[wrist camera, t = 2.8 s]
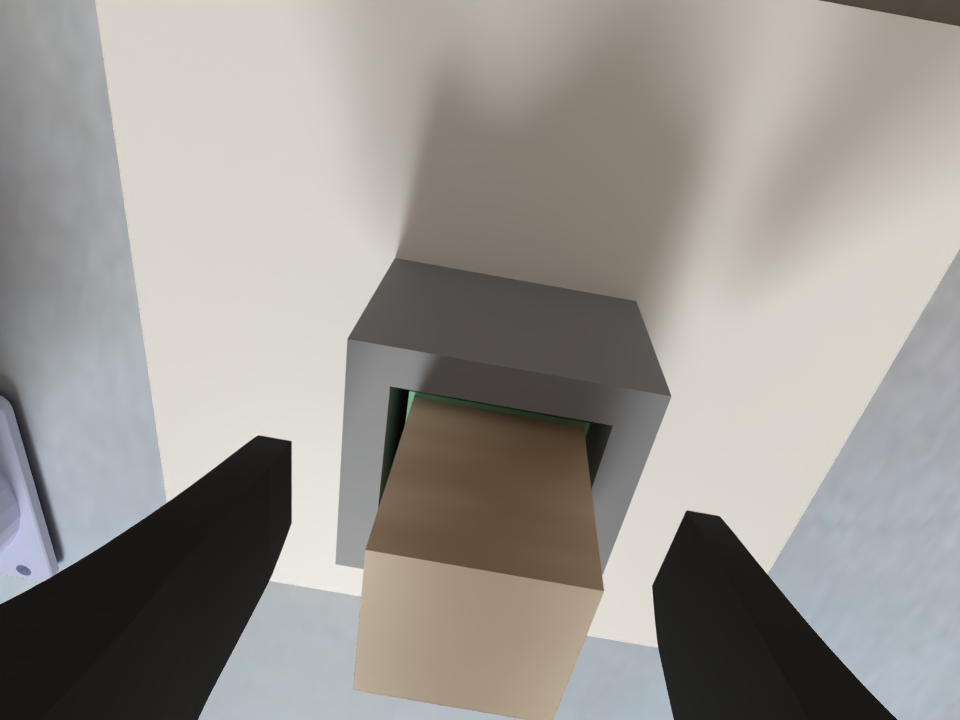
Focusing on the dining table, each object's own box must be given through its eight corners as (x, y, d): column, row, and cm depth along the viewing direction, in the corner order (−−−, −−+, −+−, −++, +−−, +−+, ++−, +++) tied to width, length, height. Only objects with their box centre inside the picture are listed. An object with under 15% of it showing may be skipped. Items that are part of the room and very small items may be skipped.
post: (420, 426, 16) (346, 693, 9) (436, 311, 14) (358, 543, 8) (547, 448, 16) (556, 728, 10) (577, 336, 14) (613, 587, 8)
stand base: (193, 536, 20) (97, 682, 16) (116, -124, 11) (-154, -219, 7) (708, 626, 21) (757, 795, 16) (1029, 46, 12) (1344, 61, 7)
